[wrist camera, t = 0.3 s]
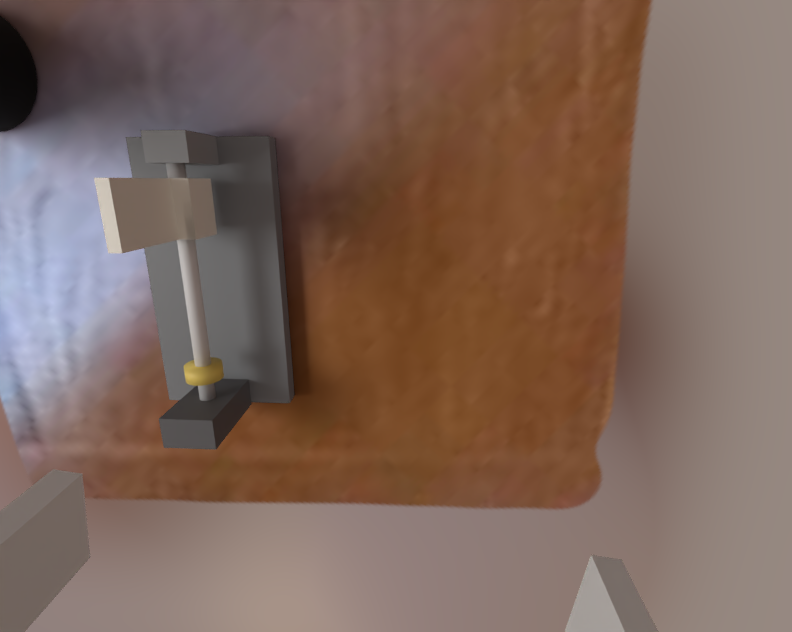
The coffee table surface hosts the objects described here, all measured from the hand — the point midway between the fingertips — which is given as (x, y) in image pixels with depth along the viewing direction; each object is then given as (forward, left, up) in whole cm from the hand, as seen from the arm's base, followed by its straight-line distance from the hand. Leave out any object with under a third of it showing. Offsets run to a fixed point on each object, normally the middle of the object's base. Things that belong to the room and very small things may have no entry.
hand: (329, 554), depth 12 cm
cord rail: (-1, -15, -27) cm, 31 cm away
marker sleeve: (-7, -15, -24) cm, 29 cm away
